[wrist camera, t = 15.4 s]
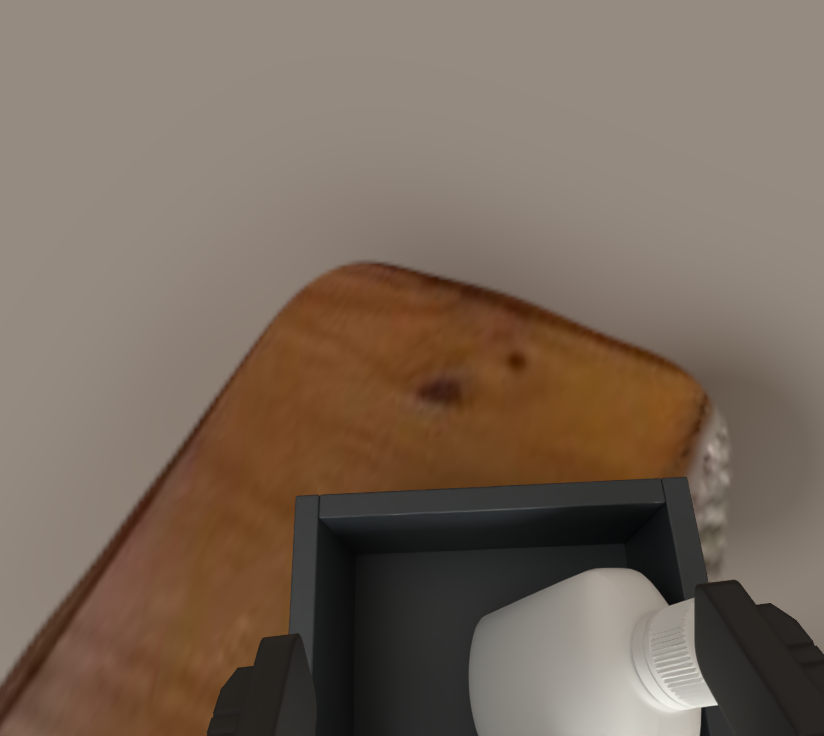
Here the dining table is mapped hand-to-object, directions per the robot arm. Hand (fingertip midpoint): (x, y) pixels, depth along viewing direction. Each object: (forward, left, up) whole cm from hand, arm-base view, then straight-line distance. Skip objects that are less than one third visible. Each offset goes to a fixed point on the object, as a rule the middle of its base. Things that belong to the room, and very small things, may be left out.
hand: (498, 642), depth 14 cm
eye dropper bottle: (0, -1, -13) cm, 13 cm away
